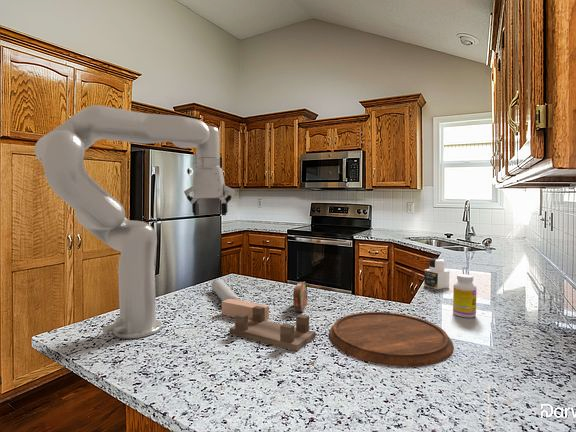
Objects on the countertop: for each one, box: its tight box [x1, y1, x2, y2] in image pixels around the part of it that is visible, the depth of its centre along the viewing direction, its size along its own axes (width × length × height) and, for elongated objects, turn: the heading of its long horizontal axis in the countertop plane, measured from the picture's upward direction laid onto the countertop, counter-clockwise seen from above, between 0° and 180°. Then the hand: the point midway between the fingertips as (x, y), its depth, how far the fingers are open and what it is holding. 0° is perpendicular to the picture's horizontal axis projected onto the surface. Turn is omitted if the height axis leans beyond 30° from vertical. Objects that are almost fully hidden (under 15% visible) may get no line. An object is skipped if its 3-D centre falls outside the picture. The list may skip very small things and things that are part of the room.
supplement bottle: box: [452, 273, 477, 319], centre depth 111 cm, size 7×7×13 cm
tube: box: [211, 278, 239, 302], centre depth 130 cm, size 5×5×25 cm
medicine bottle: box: [423, 257, 450, 290], centre depth 146 cm, size 7×7×12 cm
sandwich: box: [292, 281, 308, 313], centre depth 119 cm, size 15×3×8 cm, turn 168°
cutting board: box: [328, 311, 455, 368], centre depth 93 cm, size 32×32×3 cm
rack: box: [229, 306, 317, 352], centre depth 95 cm, size 10×22×6 cm, turn 58°
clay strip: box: [221, 299, 270, 321], centre depth 110 cm, size 4×16×4 cm, turn 59°
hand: (210, 215), depth 116 cm, fingers open, 9 cm apart
